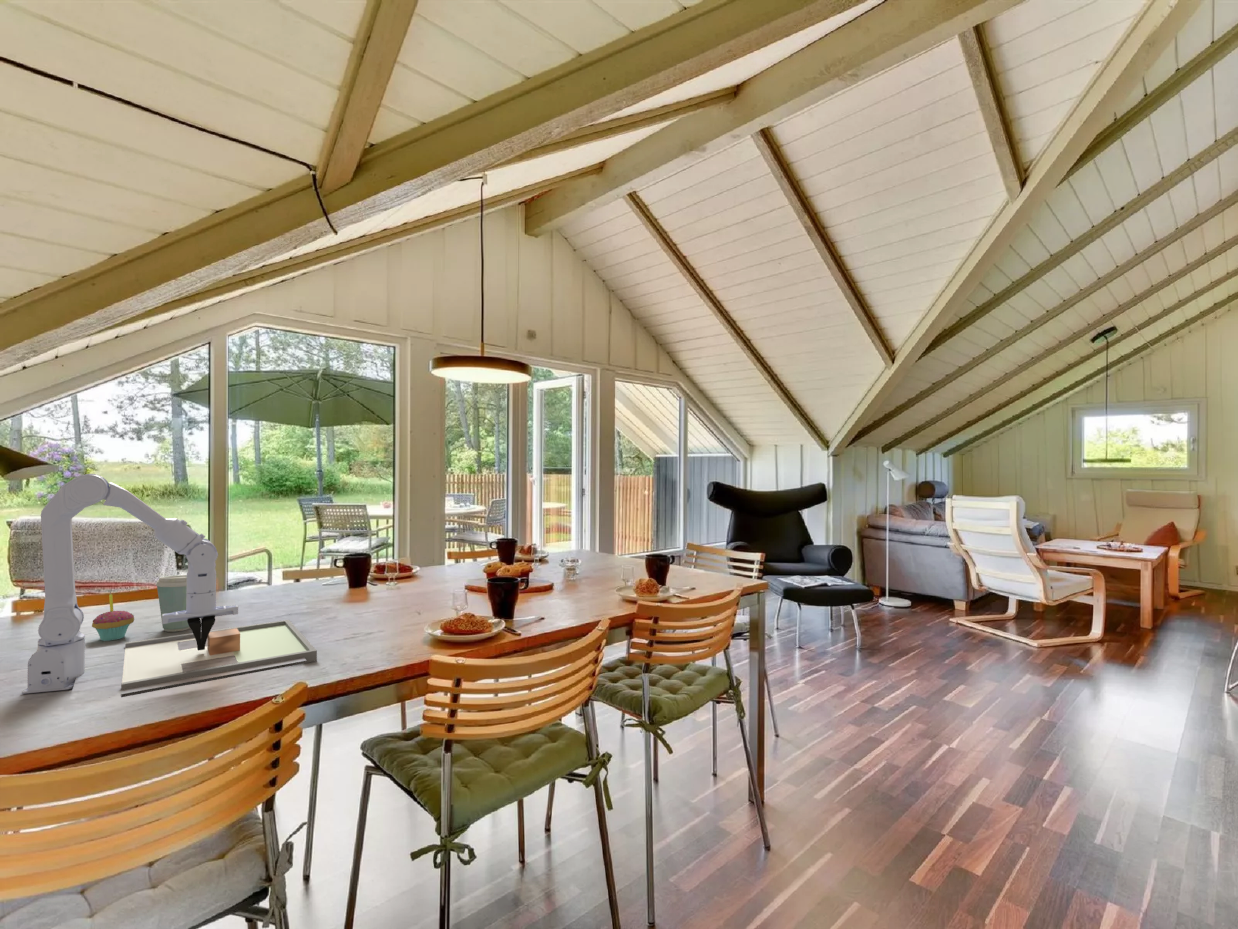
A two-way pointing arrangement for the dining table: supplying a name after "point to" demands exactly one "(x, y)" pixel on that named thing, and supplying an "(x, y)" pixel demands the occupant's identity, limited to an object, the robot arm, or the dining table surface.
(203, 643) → the robot arm
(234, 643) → the block
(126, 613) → the cupcake
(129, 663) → the sectioned serving tray
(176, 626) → the disposable coffee cup
